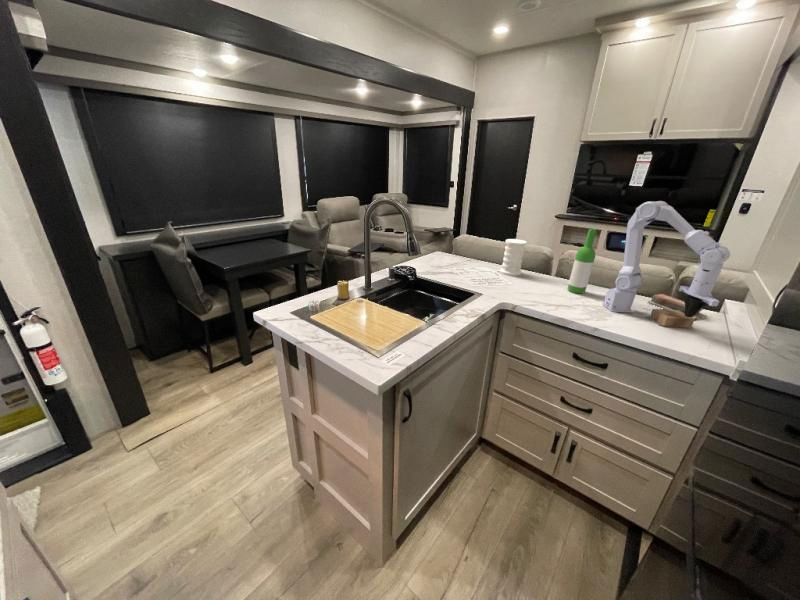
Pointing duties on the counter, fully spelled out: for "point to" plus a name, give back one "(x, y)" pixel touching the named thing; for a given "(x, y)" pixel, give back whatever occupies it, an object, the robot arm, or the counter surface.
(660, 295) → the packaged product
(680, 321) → the brown box
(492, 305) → the counter surface
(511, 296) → the counter surface
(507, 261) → the decorative container
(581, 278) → the wine bottle
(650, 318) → the rubber mat
